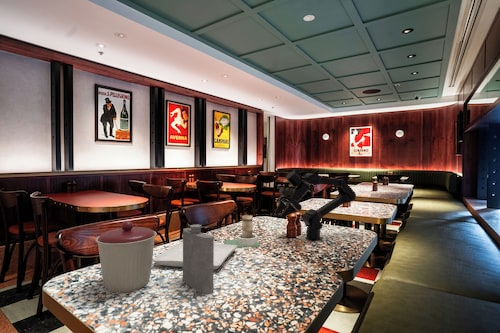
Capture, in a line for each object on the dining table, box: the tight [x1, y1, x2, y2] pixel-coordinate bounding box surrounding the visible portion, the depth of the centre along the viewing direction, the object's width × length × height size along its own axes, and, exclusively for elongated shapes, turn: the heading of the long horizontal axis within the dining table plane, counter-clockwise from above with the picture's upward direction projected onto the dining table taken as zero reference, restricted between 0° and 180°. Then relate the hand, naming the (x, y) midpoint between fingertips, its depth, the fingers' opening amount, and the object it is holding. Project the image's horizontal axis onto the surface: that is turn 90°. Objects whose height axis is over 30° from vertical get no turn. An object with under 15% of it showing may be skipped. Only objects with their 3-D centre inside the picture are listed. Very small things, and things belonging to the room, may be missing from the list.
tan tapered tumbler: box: [241, 214, 254, 239], centre depth 138 cm, size 5×5×13 cm
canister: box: [94, 220, 157, 294], centre depth 90 cm, size 18×18×21 cm
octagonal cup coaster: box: [223, 233, 261, 249], centre depth 137 cm, size 18×15×4 cm
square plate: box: [152, 241, 238, 270], centre depth 115 cm, size 27×27×4 cm
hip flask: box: [182, 224, 215, 295], centre depth 90 cm, size 16×4×20 cm, turn 42°
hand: (278, 214), depth 141 cm, fingers open, 9 cm apart
